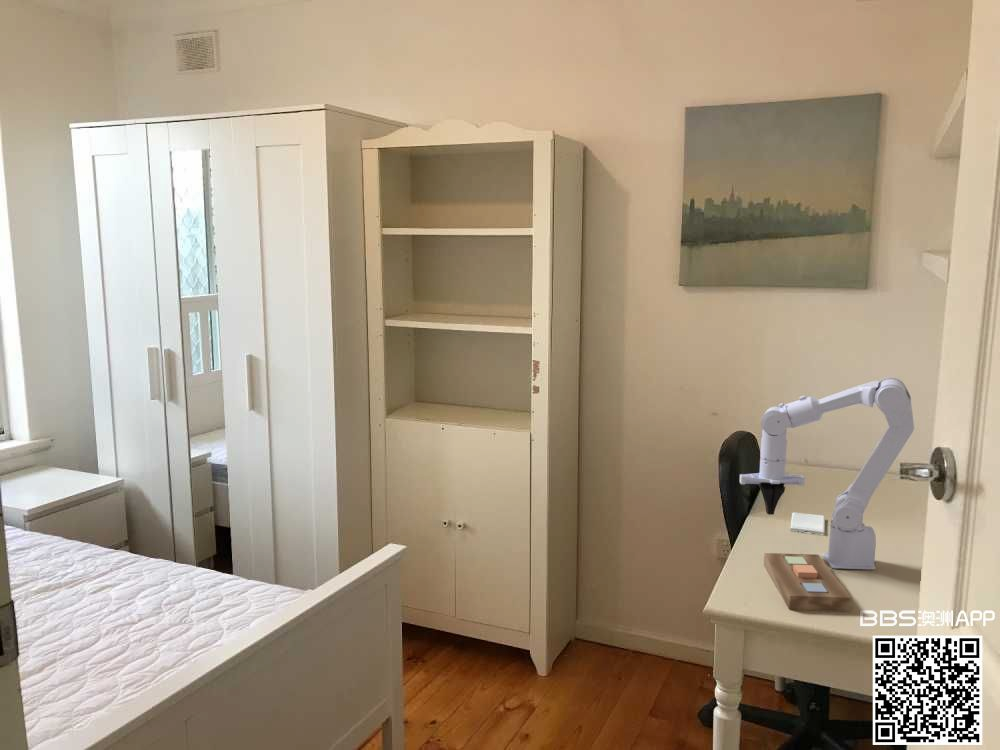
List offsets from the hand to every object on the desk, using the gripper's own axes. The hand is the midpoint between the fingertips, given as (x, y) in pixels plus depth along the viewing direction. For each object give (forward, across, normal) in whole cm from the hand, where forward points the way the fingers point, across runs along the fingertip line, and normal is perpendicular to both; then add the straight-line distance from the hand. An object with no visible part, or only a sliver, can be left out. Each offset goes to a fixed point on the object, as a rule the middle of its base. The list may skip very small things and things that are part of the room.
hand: (769, 513), depth 193 cm
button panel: (+9, +3, -20) cm, 22 cm away
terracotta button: (+8, +3, -20) cm, 22 cm away
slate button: (+9, +3, -27) cm, 28 cm away
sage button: (+9, +3, -13) cm, 16 cm away
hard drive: (+10, +14, +18) cm, 25 cm away
